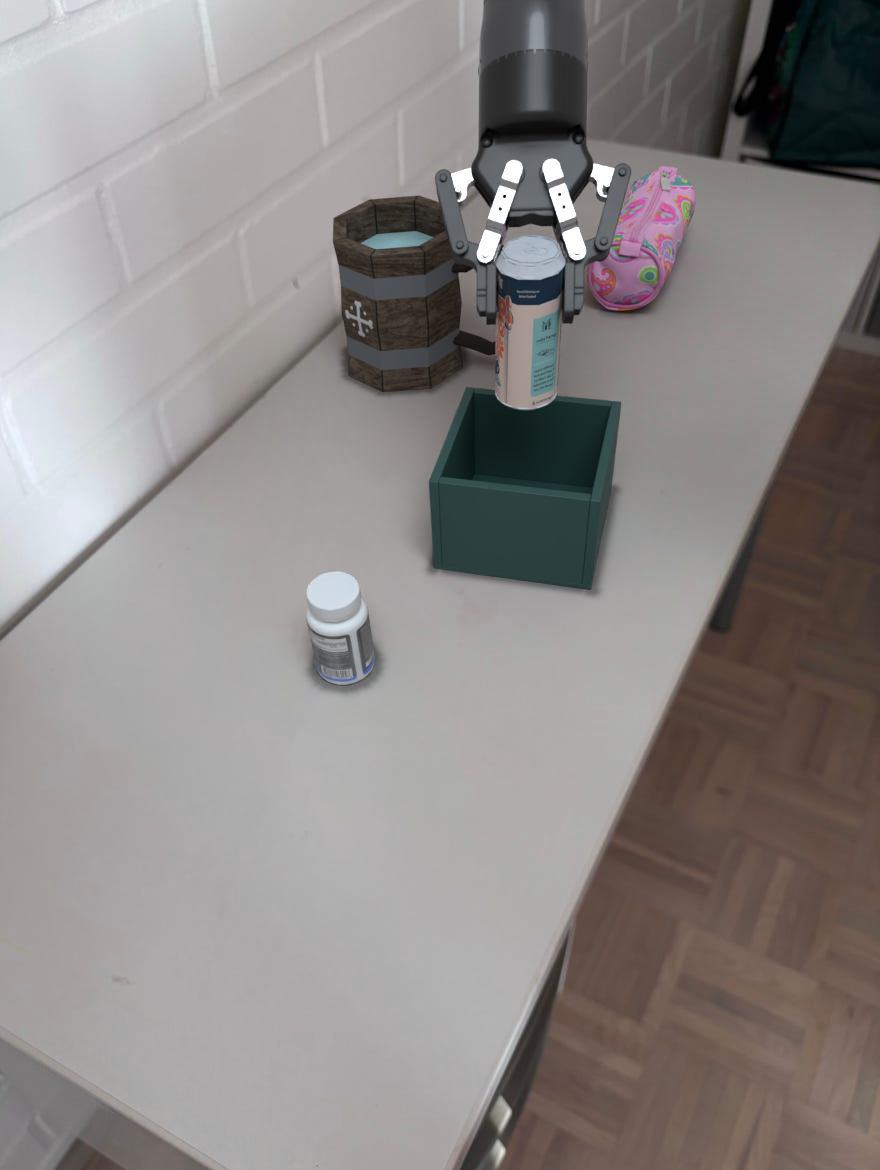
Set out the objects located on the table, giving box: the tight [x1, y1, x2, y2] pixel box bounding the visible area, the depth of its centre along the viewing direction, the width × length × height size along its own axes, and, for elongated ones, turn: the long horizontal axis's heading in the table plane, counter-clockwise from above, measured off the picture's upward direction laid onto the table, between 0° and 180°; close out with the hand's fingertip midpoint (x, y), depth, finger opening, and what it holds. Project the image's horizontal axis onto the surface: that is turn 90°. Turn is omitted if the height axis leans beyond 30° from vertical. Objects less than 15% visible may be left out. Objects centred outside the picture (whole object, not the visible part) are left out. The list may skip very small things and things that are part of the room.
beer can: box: [494, 235, 566, 410], centre depth 72 cm, size 5×5×12 cm
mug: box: [332, 195, 505, 393], centre depth 102 cm, size 20×14×15 cm
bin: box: [428, 386, 622, 591], centre depth 84 cm, size 14×14×10 cm
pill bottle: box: [305, 570, 376, 686], centre depth 75 cm, size 5×5×8 cm
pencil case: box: [586, 165, 697, 312], centre depth 114 cm, size 21×9×9 cm, turn 157°
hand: (529, 320), depth 69 cm, fingers closed on beer can, 4 cm apart
